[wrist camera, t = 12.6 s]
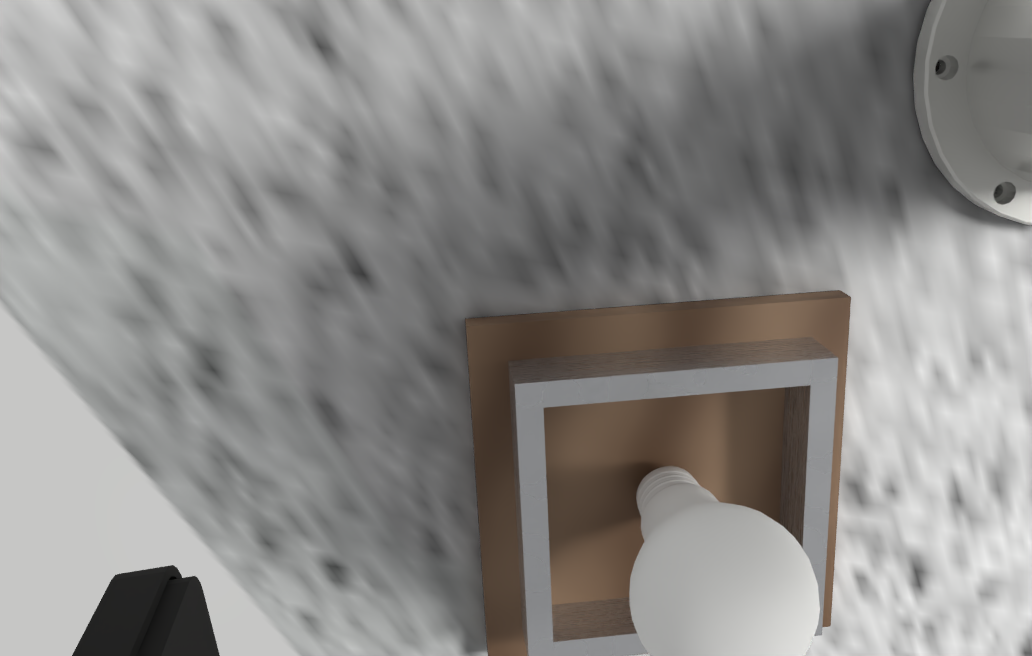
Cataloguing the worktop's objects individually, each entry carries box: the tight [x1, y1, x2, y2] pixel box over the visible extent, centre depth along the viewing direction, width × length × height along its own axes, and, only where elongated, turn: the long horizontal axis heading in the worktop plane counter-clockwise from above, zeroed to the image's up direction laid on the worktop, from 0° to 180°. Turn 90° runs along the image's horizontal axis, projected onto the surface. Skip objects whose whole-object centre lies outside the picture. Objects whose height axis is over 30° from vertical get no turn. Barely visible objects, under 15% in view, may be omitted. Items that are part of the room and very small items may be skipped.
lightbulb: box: [629, 466, 820, 656], centre depth 34 cm, size 6×6×11 cm
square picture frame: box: [508, 337, 838, 656], centre depth 38 cm, size 12×12×2 cm
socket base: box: [465, 290, 851, 656], centre depth 40 cm, size 15×15×1 cm
